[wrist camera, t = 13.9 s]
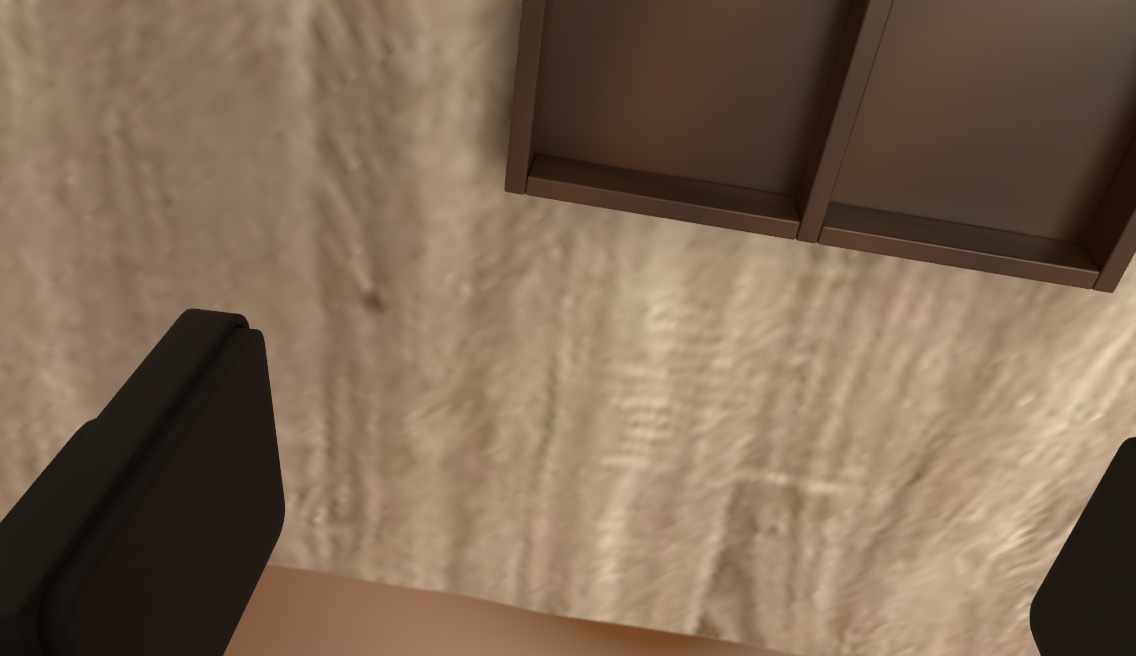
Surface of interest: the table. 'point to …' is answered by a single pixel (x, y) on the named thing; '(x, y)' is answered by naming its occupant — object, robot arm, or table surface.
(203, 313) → the robot arm
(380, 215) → the table surface
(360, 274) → the table surface
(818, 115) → the grid
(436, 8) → the table surface
